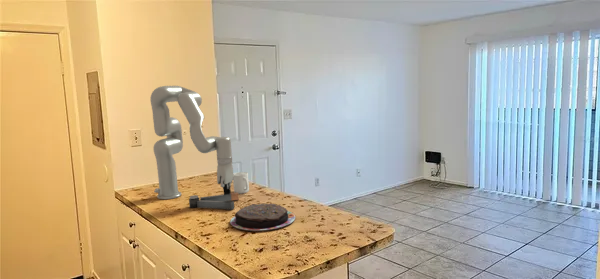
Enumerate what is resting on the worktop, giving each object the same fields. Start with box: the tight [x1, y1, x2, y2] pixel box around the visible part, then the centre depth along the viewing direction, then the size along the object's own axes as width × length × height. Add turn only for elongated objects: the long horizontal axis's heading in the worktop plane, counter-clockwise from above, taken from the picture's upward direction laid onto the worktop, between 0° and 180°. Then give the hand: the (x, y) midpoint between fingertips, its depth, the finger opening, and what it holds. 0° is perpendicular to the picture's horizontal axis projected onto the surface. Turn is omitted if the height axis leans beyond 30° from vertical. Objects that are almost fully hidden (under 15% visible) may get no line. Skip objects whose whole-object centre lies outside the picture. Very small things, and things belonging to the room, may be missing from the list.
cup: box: [232, 171, 250, 194], centre depth 222 cm, size 8×12×10 cm
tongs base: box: [188, 197, 235, 211], centre depth 197 cm, size 24×6×4 cm, turn 73°
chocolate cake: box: [229, 202, 296, 233], centre depth 174 cm, size 28×28×7 cm
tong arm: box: [189, 192, 239, 201], centre depth 203 cm, size 24×5×5 cm, turn 108°
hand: (227, 195), depth 210 cm, fingers closed
